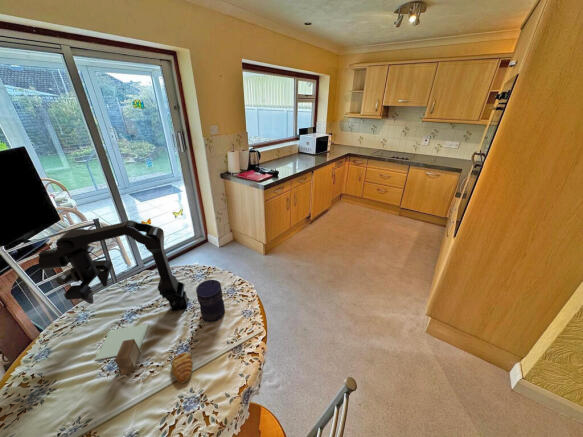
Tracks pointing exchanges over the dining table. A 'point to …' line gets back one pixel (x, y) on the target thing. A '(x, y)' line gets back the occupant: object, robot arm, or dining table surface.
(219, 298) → the storage jar
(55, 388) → the dining table surface
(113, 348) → the mat
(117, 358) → the wooden block
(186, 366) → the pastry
